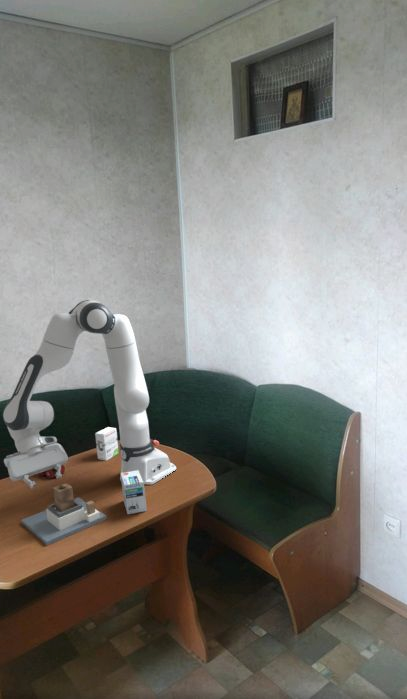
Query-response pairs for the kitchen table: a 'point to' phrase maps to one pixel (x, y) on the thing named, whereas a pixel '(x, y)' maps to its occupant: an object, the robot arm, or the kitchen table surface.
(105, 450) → the ink box
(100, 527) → the kitchen table surface
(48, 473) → the toy fire truck
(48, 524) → the build plate
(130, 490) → the light bulb box
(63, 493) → the walnut block
